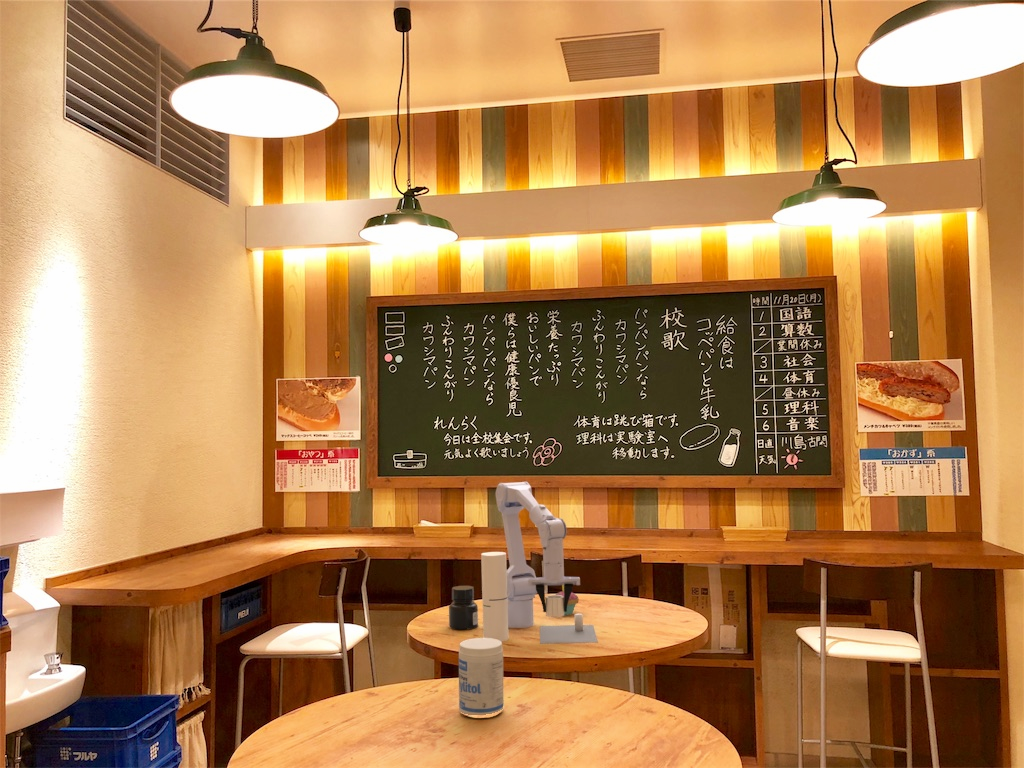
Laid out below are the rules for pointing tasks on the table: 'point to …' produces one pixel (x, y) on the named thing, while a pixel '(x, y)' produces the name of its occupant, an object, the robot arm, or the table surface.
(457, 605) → the ink bottle
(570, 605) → the cupcake
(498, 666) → the supplement tub
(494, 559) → the cylindrical container
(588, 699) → the table surface
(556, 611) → the sleeve
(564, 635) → the duct board
